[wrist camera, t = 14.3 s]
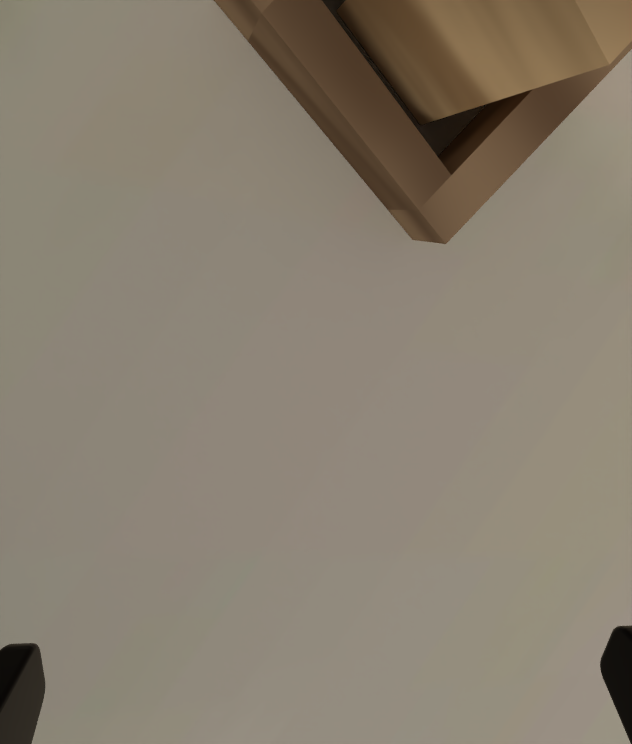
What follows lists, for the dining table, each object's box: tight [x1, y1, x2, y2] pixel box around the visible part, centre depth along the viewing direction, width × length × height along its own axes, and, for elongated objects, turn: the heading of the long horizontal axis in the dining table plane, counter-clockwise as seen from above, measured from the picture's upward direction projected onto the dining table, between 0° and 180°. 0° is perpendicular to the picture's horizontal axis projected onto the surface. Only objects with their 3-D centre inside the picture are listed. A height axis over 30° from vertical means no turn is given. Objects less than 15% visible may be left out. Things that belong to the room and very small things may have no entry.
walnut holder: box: [214, 0, 632, 244], centre depth 16 cm, size 10×10×2 cm
